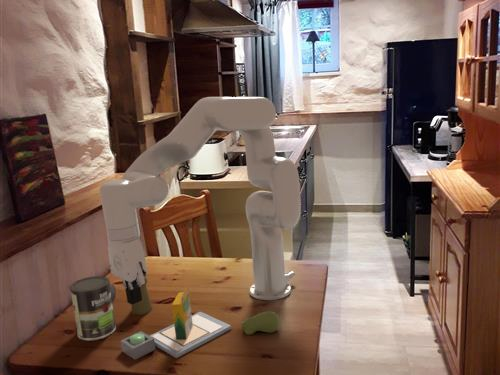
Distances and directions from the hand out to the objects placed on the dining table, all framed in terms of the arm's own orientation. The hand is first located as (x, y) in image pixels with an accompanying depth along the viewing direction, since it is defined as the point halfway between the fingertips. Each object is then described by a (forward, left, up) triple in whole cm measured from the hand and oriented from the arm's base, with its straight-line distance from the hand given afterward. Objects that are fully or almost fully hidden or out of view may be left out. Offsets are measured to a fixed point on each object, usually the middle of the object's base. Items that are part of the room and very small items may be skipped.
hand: (135, 301), depth 125 cm
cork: (-12, -19, -13) cm, 26 cm away
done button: (+1, 0, -13) cm, 13 cm away
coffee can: (+3, -18, -13) cm, 23 cm away
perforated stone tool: (-6, -29, -13) cm, 32 cm away
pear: (-26, +17, -13) cm, 34 cm away
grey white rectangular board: (-12, +4, -13) cm, 18 cm away
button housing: (+1, 0, -13) cm, 13 cm away
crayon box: (-11, +4, -12) cm, 17 cm away
